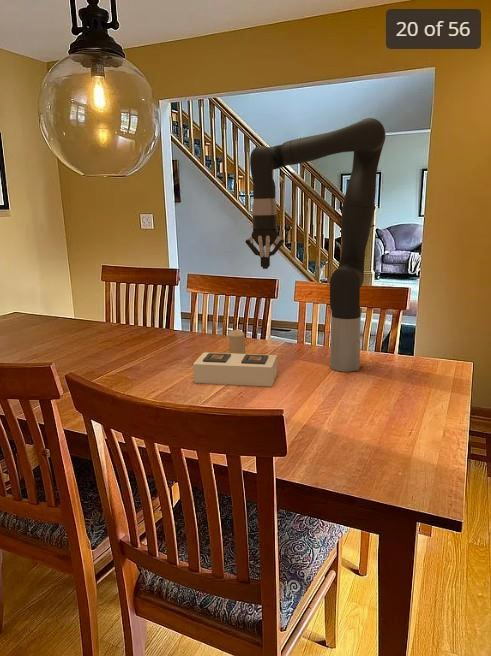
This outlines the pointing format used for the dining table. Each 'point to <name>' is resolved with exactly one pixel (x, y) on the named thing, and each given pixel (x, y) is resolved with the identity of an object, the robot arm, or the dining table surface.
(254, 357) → the peg
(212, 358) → the peg
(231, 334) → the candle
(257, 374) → the socket board
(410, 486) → the dining table surface
